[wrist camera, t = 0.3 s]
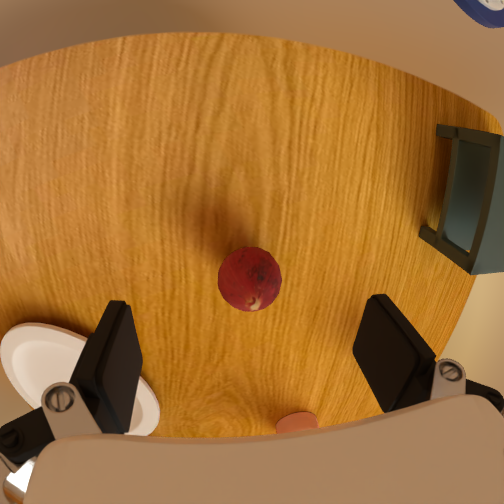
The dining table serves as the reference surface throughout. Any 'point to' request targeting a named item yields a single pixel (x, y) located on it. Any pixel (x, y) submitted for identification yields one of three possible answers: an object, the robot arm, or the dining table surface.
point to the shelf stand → (472, 202)
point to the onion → (249, 279)
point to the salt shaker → (297, 422)
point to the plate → (60, 368)
